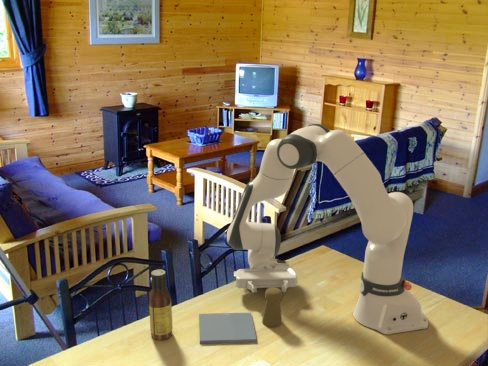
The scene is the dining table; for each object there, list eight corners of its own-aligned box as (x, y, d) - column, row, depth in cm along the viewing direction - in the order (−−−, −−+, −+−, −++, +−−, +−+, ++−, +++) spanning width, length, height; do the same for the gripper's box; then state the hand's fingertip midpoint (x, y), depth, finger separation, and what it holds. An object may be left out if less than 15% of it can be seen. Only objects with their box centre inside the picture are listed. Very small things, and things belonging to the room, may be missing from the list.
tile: (250, 315, 164) (251, 312, 164) (256, 342, 151) (256, 339, 151) (198, 316, 163) (199, 313, 163) (199, 343, 150) (199, 340, 149)
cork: (280, 328, 158) (282, 296, 155) (260, 326, 159) (262, 293, 156) (283, 318, 164) (285, 286, 160) (263, 315, 165) (265, 283, 161)
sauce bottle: (176, 333, 154) (176, 271, 148) (162, 343, 149) (161, 280, 143) (159, 326, 157) (158, 265, 151) (145, 336, 152) (143, 273, 146)
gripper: (233, 262, 179) (236, 282, 166) (293, 261, 181) (301, 280, 168) (232, 279, 181) (236, 300, 168) (292, 277, 183) (300, 298, 170)
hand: (269, 290), depth 168 cm, fingers open, 8 cm apart
